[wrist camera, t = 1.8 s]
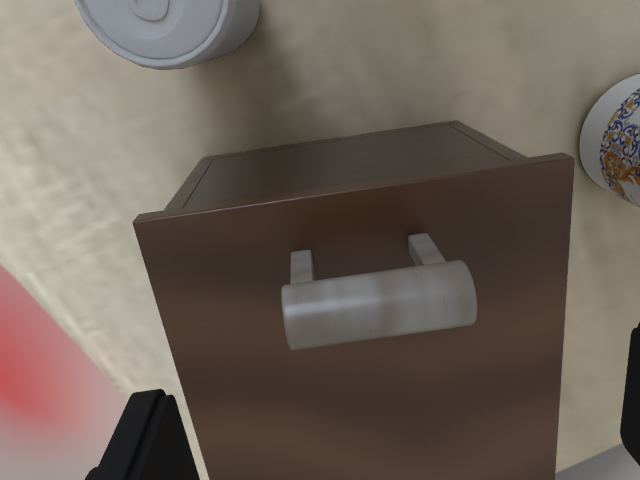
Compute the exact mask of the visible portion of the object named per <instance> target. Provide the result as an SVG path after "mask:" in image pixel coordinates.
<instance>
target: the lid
mask: <svg viewBox="0 0 640 480" xmlns="http://www.w3.org/2000/svg"><path fill="white" fill-rule="evenodd" d="M574 160H575V159H574V157H571V156H569V155H567V154H565V153H557V154H550V155H543V156H536V157H530V158H523V159H516V160H509V161H502V162H495V163H488V164H481V165H474V166H468V167H461V168H454V169H447V170H440V171H433V172H426V173H419V174H413V175H406V176H399V177H392V178H385V179H378V180H371V181H364V182H357V183H351V184H344V185H337V186H330V187H323V188H316V189H309V190H302V191H295V192H289V193H282V194H275V195H268V196H261V197H254V198H247V199H240V200H234V201H227V202H220V203H213V204H206V205H199V206H192V207H185V208H178V209H172V210H165V211H158V212H151V213H144V214H139V215H138V216H137V217H136V218H135V220H134V221H133V226H134V229H135V233H136V236H137V239H138V243H139V246H140V249H141V253H142V256H143V259H144V263H145V266H146V269H147V273H148V276H149V279H150V283H151V286H152V289H153V293H154V296H155V299H156V303H157V306H158V309H159V313H160V316H161V319H162V323H163V326H164V329H165V333H166V336H167V339H168V343H169V346H170V349H171V353H172V356H173V359H174V363H175V366H176V369H177V373H178V376H179V379H180V383H181V386H182V389H183V393H184V396H185V399H186V403H187V406H188V409H189V413H190V416H191V419H192V423H193V426H194V429H195V433H196V436H197V439H198V443H199V446H200V449H201V453H202V456H203V459H204V463H205V466H206V469H207V473H208V476H209V479H210V480H555V469H556V453H557V436H558V420H559V404H560V388H561V371H562V355H563V339H564V323H565V306H566V290H567V274H568V258H569V242H570V225H571V209H572V193H573V177H574Z"/></svg>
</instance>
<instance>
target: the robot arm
mask: <svg viewBox="0 0 640 480" xmlns="http://www.w3.org/2000/svg"><path fill="white" fill-rule="evenodd" d="M620 434H621V439H622V442H623V444H624V446H625V448H626V449H627V451H628V452H629V453H630V455H631V456H632V457H633V458H634V459H635V461H636V462H637V463H638V464H639V466H640V323H639V324H638V327H637V328H634V329H633V331H632V333H631V340H630V348H629V357H628V366H627V375H626V384H625V393H624V401H623V410H622V419H621V428H620ZM85 480H200V478H199V475H198V472H197V469H196V465H195V462H194V459H193V455H192V452H191V449H190V446H189V442H188V439H187V436H186V433H185V429H184V426H183V423H182V419H181V416H180V413H179V410H178V406H177V403H176V400H175V397H174V396H173V395H166V394H165V392H164V391H163V390H162V389H157V390H150V391H143V392H136V393H133V394H132V395H131V396H130V398H129V400H128V403H127V405H126V407H125V409H124V411H123V414H122V416H121V418H120V420H119V423H118V424H117V427H116V429H115V431H114V434H113V435H112V438H111V440H110V442H109V444H108V447H107V449H106V451H105V453H104V455H103V457H102V459H101V462H100V464H99V466H98V467H95V468H93V469H92V470H91V471H90V472H89V473H88V475H87V476H86V478H85Z"/></svg>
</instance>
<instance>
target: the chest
mask: <svg viewBox="0 0 640 480" xmlns="http://www.w3.org/2000/svg"><path fill="white" fill-rule="evenodd" d="M523 158H527V157H526V156H524V155H522V154H520V153H518V152H516V151H514V150H512V149H510V148H509V147H507V146H505V145H503V144H501V143H499V142H497V141H495V140H493V139H491V138H490V137H488V136H486V135H484V134H482V133H480V132H478V131H476V130H474V129H473V128H471V127H469V126H467V125H465V124H463V123H461V122H459V121H450V122H444V123H437V124H430V125H423V126H416V127H409V128H402V129H396V130H389V131H382V132H375V133H368V134H361V135H354V136H348V137H341V138H334V139H327V140H320V141H313V142H306V143H300V144H293V145H286V146H279V147H272V148H265V149H258V150H252V151H245V152H238V153H231V154H224V155H217V156H210V157H204V158H202V159H201V161H200V162H199V163H198V164H197V166H196V167H195V168H194V170H193V171H192V172H191V174H190V175H189V177H188V178H187V179H186V181H185V182H184V183H183V185H182V186H181V187H180V189H179V190H178V192H177V193H176V194H175V196H174V197H173V198H172V200H171V201H170V202H169V204H168V205H167V206H166V208H165V209H164V211H165V210H172V209H178V208H185V207H192V206H199V205H206V204H213V203H220V202H227V201H234V200H240V199H247V198H254V197H261V196H268V195H275V194H282V193H289V192H295V191H302V190H309V189H316V188H323V187H330V186H337V185H344V184H351V183H357V182H364V181H371V180H378V179H385V178H392V177H399V176H406V175H413V174H419V173H426V172H433V171H440V170H447V169H454V168H461V167H468V166H474V165H481V164H488V163H495V162H502V161H509V160H516V159H523Z"/></svg>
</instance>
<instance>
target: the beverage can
mask: <svg viewBox="0 0 640 480" xmlns="http://www.w3.org/2000/svg"><path fill="white" fill-rule="evenodd" d="M74 1H75V3H76V6H77V8H78V10H79V12H80V14H81V16H82V18H83V20H84V22H85V23H86V25H87V26H88V27H89V28H90V30H91V31H92V32H93V33H94V35H95V36H96V37H97V38H98V40H99V41H101V42H102V43H103V44H104V45H106V46H107V47H108V48H109V49H111V50H112V51H113V52H114V53H116V54H117V55H119V56H121V57H123V58H125V59H127V60H129V61H131V62H133V63H135V64H138V65H140V66H142V67H148V68H153V69H158V70H170V69H183V68H186V67H189V66H192V65H196V64H199V63H202V62H205V61H208V60H212V59H214V58H217V57H220V56H222V55H225V54H227V53H230V52H232V51H234V50H235V49H237V48H238V47H239V46H241V45H242V44H243V43H244V42H245V41H246V40H247V39H248V37H249V36H250V35H251V34H252V32H253V30H254V28H255V26H256V24H257V22H258V15H259V0H74Z"/></svg>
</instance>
